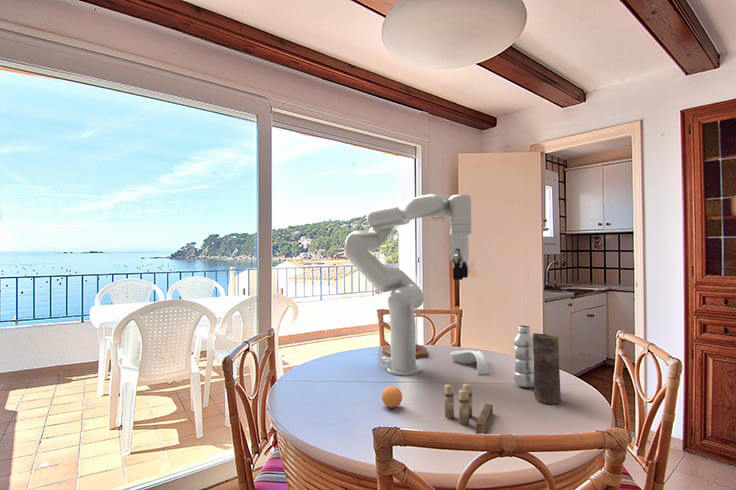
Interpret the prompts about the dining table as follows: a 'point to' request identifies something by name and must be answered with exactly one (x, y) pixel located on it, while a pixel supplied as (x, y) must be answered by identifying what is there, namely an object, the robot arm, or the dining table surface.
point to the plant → (420, 351)
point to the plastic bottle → (524, 357)
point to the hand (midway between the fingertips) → (460, 278)
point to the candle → (546, 368)
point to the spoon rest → (472, 360)
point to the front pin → (449, 401)
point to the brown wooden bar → (484, 418)
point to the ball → (391, 396)
